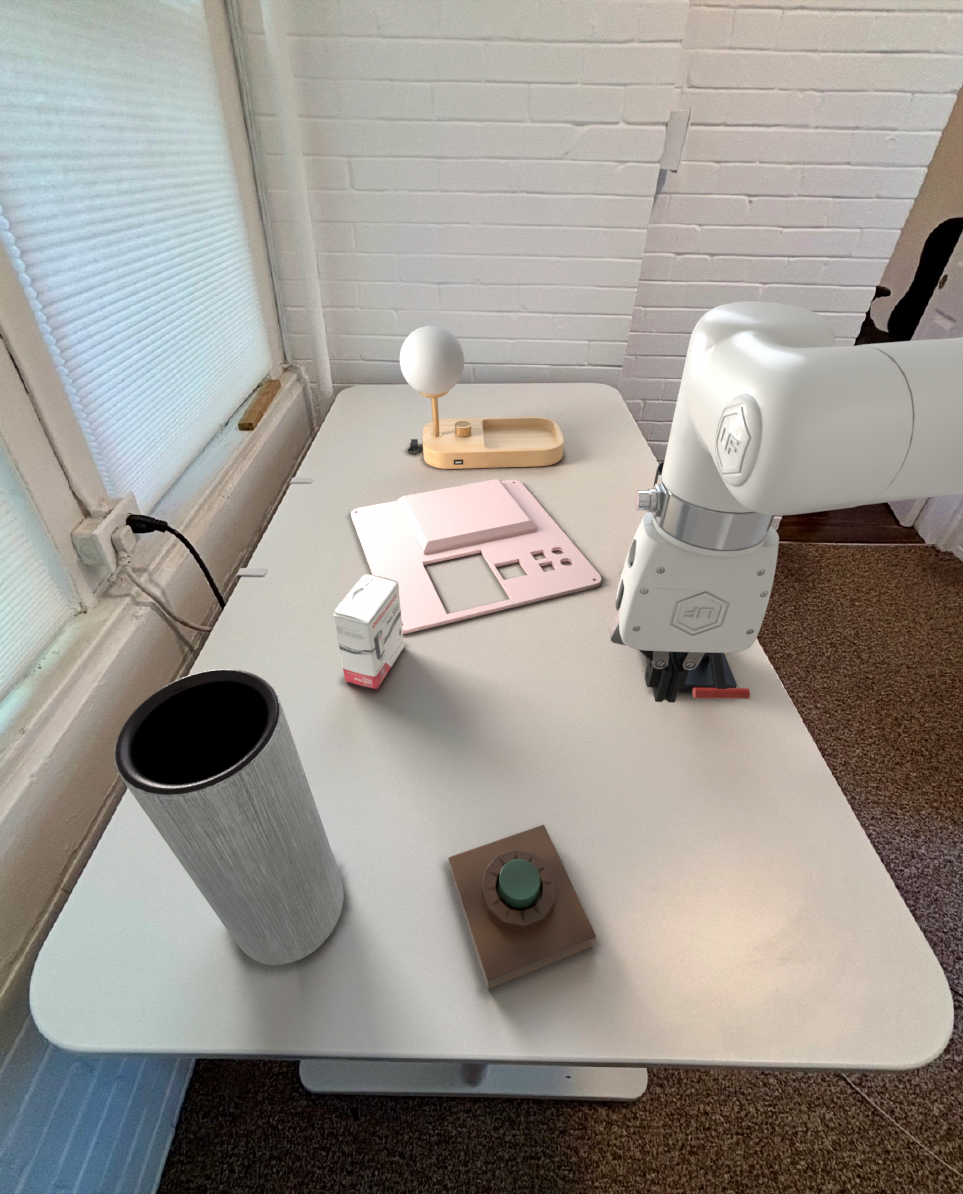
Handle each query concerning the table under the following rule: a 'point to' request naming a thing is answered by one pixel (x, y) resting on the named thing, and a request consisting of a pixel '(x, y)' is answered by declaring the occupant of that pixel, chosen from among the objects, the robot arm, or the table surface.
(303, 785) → the vase
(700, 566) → the robot arm
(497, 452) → the lamp
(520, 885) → the button
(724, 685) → the lever
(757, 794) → the table surface
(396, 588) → the ink box
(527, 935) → the block
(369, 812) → the table surface
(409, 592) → the panel
